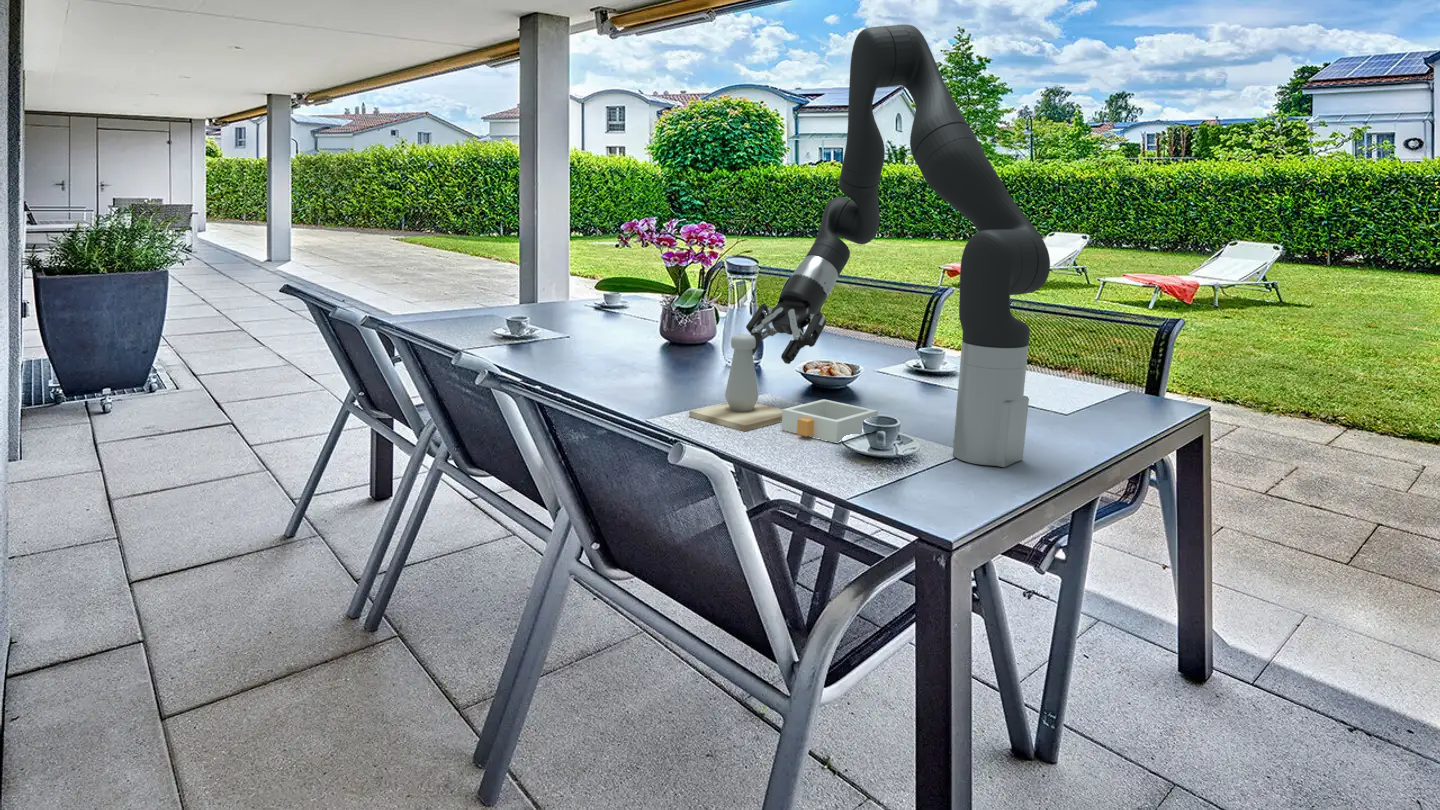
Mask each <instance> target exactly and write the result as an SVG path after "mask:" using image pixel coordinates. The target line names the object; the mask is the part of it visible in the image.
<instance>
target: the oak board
mask: <svg viewBox="0 0 1440 810" xmlns="http://www.w3.org/2000/svg"><path fill="white" fill-rule="evenodd" d="M782 409H783V408H778V407H774V406H770V405H766V404H761V403H757V402H756V404H755V406H754V408H753V410H752V411H746V412H738V411H732V410H731V409H730V407H729V404H728V402H723V403H719V404H715V405H710V406H706V407H702V408H698V409H697V408H696V409H693V410H689V412H688V413H689V415H688V417H690V418H693V419H697V420H701V421H703V422H708V423H711V424H715V425H716V424H717V425H720V426H723V427H728V428H730V429H735V430H739V431H742V432H749V431H753V430H755V429H760V428H764V427H768V426H771V425H770V424H772V425H774V423H776V424H778V423H777V422H779V423H781V422H780V421H782ZM767 425H768V426H767ZM763 426H764V427H763ZM752 429H753V430H752Z"/></svg>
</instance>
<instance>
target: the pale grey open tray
mask: <svg viewBox="0 0 1440 810" xmlns="http://www.w3.org/2000/svg"><path fill="white" fill-rule="evenodd" d="M781 409H782V422H781V431H783V430H785V431H784V432H787V431H789V432H788V433H791V432H794V433H793V434H795V433H797V434H796V435H799V436H803V437H806V438H808V437H807V436H811V437H815V438H820V439H823V440H827V441H831V442H839V441H840V440H841V439H842V438H843V437H844V436H846V435H850V434H861V433H862V422H863V421H864V420H865V419H867V418H870V417H875V416H877V417H878V415H879V414H878V412H879V411H878V410H876V409H871V408H867V407H863V406H862V407H861V406H858V405H852V404H848V403H844V402H838V401H834V400H829V399H825V398H824V399H818V400H815V401H811V402H807V403H804V404H803V403H802V404H797V405H796V406H795V405H794V406H791V407H787V408H781Z"/></svg>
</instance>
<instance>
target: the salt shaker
mask: <svg viewBox="0 0 1440 810" xmlns="http://www.w3.org/2000/svg"><path fill="white" fill-rule="evenodd" d="M730 347H731V349H734V350H733V354H732V359H731V365H730V369H729V374H728V378H727V384H726V389H725V395H724V396H725V400H726V403H728V404H729V407H730V409H731V410H732V411H738V412H746V411H752V410H753V408H754V406H755V404H756V403H757V402H758V400H759V392H758V391H759V390H758V386H757V385H758V383H757V376H756V368H755V361H754V355H753V352H752V349H755V347H756V340H755V337H754V336H752V335H751V334H749V333H748V334H747V333H742V334H741V333H740V334H734V335H732V337H731V339H730Z"/></svg>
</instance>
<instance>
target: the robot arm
mask: <svg viewBox="0 0 1440 810" xmlns="http://www.w3.org/2000/svg"><path fill="white" fill-rule="evenodd" d="M849 65H850V66H849V84H848V85H849V88H848V103H847V104H848V106H847V107H848V110H847V111H848V112H847V117H848V118H847V135H846V136H847V137H846V143H845V149H844V150H845V151H844V156H843V160H842V166H841V170H840V175H839V179H838V180H839V181H838V186H839V189H840V191H841V193H842V194H843V195H844V196H836V197H834V198H832V199H830V200H829V201H828V202H827V204H826V205H825V207H824V211H823V212H822V213H823V214H822V219H821V223H820V226H819V230H818V232H817V235H816V238H815V240H814V242H813V244H812V245H811V247H810V248H809V251H808V252H807V254H806V255H805V256H804V258H803V260H801V262H800V263H799V264H798V266H797V267H796V268H795V270H794V272H793V273H792V275H791V277H790V278H789V279H788V281H787V283H786V285H785V286H784V288H783V289H782V291H781V292H780V293H779V299H778V300H779V301H778V303H777V304H776V305H775V306H774V307H768V305H767V304H766V303H762V304H761V305H760V306H759V308H757V310H756V311H755V313H754V314H753V316H752V317H751V319H750V320H749V321H748V323H747V324H746V326H745V328H746V329H747V331H748V334H749V335H752V336H754V337H755V340H756V347H755V349H752V352H753V356H754V355H755V354H756V352H757V350H758V349H759V347H760V345H761V344H762V341H763V340H765V339H766V338H768V337H769V336H771V337H773V336H775V335H776V334H787V335H790V336H792V339H793V340H792V339H791V340H789V342H788V344H787V345H786V347H785V348H784V350H783V352H782V353H781V355H780V356H781V357H780V358H781V360H782V361H783V363H784V364H787V365H790V364H791V362H793V361H795V359H796V358H797V355H798V354H799V352H800V350H801V349H803V348H805V347H806V346H808V347H810V348H812V347H814V346H815V345H816V343H817V342H818V339H819V338H820V336H821V334H822V332H823V330H824V328H825V326H826V324H827V319H826V318H825V316H824V315H823V313H822V311H821V310H822V307H823V306H824V305H825V304H824V303H825V302H826V301H827V300H828V297H829V295H830V294H831V292H832V291H833V289H834V287H835V284H836V282H837V280H838V278H839V277H840V275H841V273H842V271H843V270H844V268H845V266H846V265H847V263H848V261H849V259H850V256H851V251H850V249H849V246H848V245H847V243H845V242H844V241H843V240H842V239H844V240H846V241H850V242H851V243H853V244H854V243H855V244H856V245H867V244H868V243H870V242H871V241H872V240H873V239H874V238H875V237H876V235H877V233H878V231H879V227H880V206H879V205H880V204H879V185H880V180H881V176H882V170H883V167H884V163H885V157H886V155H885V154H886V153H885V152H886V151H885V143H884V139H883V137H882V134H881V132H880V129H879V127H878V125H877V124H878V123H877V122H876V120H875V119H876V118H875V116H874V111H873V110H874V109H873V101H874V97H875V94H876V91H877V89H880V88H882V89H883V88H890V87H898V86H899V87H904V88H905V89H906V90H907V91H908V93H909V94H910V97H911V98H912V101H913V103H914V106H915V113H914V118H913V121H912V125H911V131H910V137H909V138H910V139H909V146H910V151H911V154H912V155H911V156H912V157H913V159H914V161H915V163H916V165H917V167H918V168H919V170H920V172H921V174H922V177H923V178H924V179H925V181H926V183H927V184H928V186H929V187H930V188H931V190H933V192H935V193H936V194H937V195H938V196H939V197H940V198H941V199H943V200H944V201H945V202H946V203H948V204H949V205H950V206H951V207H953V208H954V209H955V210H957V211H958V212H959V213H960V214H961V215H963V216H964V217H965V218H967V220H969V221H970V222H971V224H972V225H974V227H975V228H976V229H977V231H978V232H976V233H974V234H973V235H971V236H970V238H969V239H968V241H967V243H966V244H965V247H964V248H963V251H962V256H961V261H960V271H959V296H958V297H959V300H958V304H959V305H958V318H959V322H960V326H961V329H962V330H961V331H962V336H961V337H962V338H961V340H962V341H961V350H960V359H959V360H960V362H959V373H958V384H957V385H958V386H957V387H958V388H957V395H956V396H957V398H956V399H957V400H956V409H955V410H956V411H955V421H954V422H955V423H954V436H953V447H952V448H953V449H952V455H953V457H954V458H957V459H959V460H960V461H963V462H965V463H970V464H975V465H982V466H993V467H994V466H997V467H1002V468H1006V467H1008V466H1011V465H1013V464H1016V463H1017V462H1019V461H1022V460H1023V459H1024V451H1025V450H1024V449H1025V441H1026V433H1027V432H1026V431H1027V421H1028V412H1029V401H1030V397H1029V396H1026V395H1025V394H1024V392H1025V386H1026V385H1025V382H1026V375H1027V364H1028V355H1029V354H1028V352H1029V345H1030V336H1031V328H1030V326H1029V325H1028V323H1026V322H1024V321H1021V320H1020V319H1017V318H1016V317H1015V316H1014V315H1013V314H1012V312H1011V306H1010V305H1011V304H1010V303H1011V296H1017V295H1018V296H1020V295H1026V294H1030V293H1033V292H1036V291H1038V290H1040V289H1041V288H1042V287H1043V286H1044V285H1045V283H1046V282H1047V280H1048V278H1049V275H1050V271H1051V270H1050V269H1051V260H1050V253H1049V250H1048V247H1047V245H1046V243H1045V241H1044V239H1043V238H1042V236H1041V234H1040V233H1039V232H1038V230H1037V229H1036V228H1035V226H1034V225H1033V223H1032V222H1031V221H1030V219H1028V217H1027V216H1026V215H1025V213H1024V212H1023V211H1022V209H1021V208H1020V207H1019V206H1018V204H1017V203H1016V201H1015V199H1013V197H1012V196H1011V195H1010V193H1009V191H1008V190H1007V187H1006V186H1005V185H1004V184H1003V183H1004V182H1002V180H1001V178H1000V177H999V174H998V173H997V172H996V170H995V168H994V167H993V166H992V163H991V162H990V160H989V159H988V157H987V155H986V153H985V151H984V149H983V147H982V146H981V144H980V141H979V139H978V138H977V136H976V135H975V133H974V131H973V130H972V128H971V126H970V125H969V123H968V121H966V118H964V115H963V113H962V112H961V111H960V109H959V107H958V106H957V104H956V101H955V100H954V98H953V96H952V94H951V92H950V91H949V89H948V87H947V85H946V83H945V81H944V79H943V76H942V73H941V72H940V69H939V67H938V65H937V62H936V60H935V58H934V56H933V53H932V50H931V49H930V47H929V44H928V42H927V39H926V38H925V36H924V34H923V33H922V32H921V31H920V30H919V28H917V27H916V26H915V25H912V24H893V25H883V26H882V25H880V26H879V25H878V26H872V27H867V28H863V29H861V31H859V33H858V34H857V35H856V38H855V39H854V43H853V46H852V51H851V56H850V64H849ZM845 196H846V197H845ZM840 238H841V239H840ZM770 324H771V325H772V327H771V326H770ZM806 327H807V328H806ZM805 328H806V329H805ZM761 331H763V332H761Z"/></svg>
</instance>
